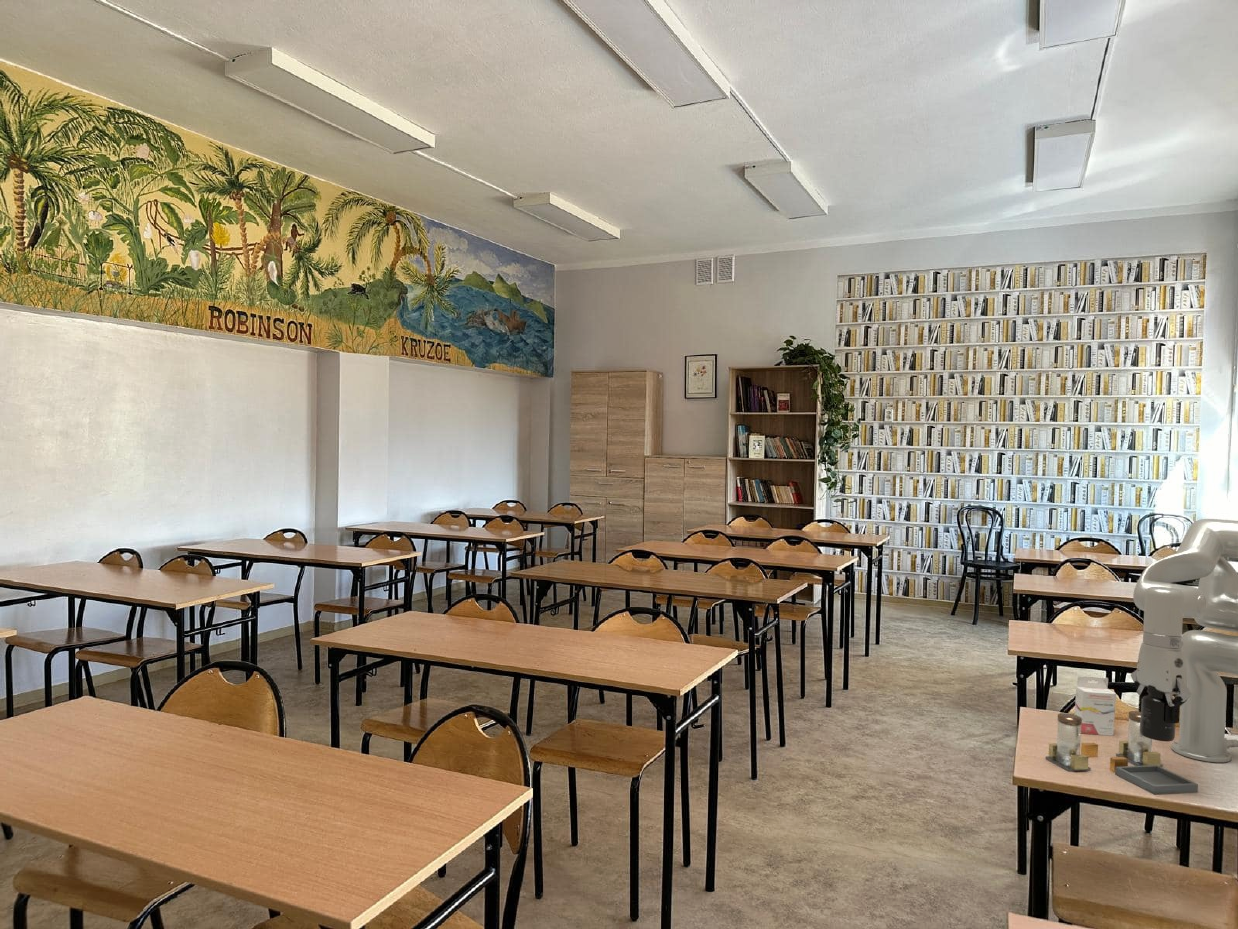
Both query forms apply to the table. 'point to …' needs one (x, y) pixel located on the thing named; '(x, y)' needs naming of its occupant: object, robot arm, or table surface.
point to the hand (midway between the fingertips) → (1158, 716)
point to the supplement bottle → (1155, 716)
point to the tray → (1156, 779)
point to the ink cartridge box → (1095, 706)
